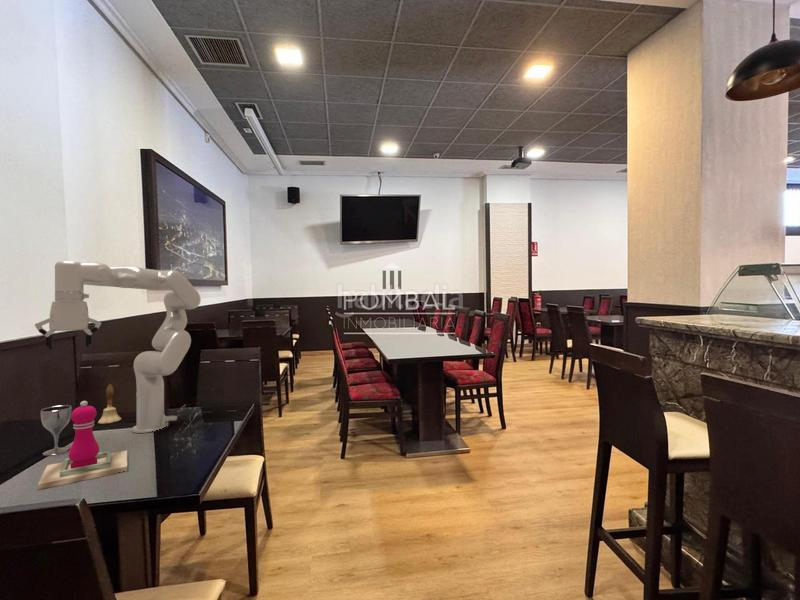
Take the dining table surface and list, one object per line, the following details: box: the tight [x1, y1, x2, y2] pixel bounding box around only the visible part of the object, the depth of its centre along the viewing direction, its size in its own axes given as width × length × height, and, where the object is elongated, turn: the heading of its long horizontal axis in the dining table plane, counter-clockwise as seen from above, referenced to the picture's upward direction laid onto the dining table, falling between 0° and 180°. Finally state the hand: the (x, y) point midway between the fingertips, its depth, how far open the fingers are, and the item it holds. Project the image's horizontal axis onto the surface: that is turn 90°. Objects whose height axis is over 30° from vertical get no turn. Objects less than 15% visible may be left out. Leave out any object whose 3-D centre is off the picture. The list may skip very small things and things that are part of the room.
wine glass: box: [40, 404, 72, 456], centre depth 134 cm, size 8×8×15 cm
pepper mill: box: [68, 400, 100, 469], centre depth 117 cm, size 7×7×20 cm
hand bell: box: [97, 384, 122, 425], centre depth 170 cm, size 8×8×16 cm
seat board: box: [37, 450, 128, 491], centre depth 118 cm, size 20×16×3 cm
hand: (69, 347), depth 132 cm, fingers open, 9 cm apart
